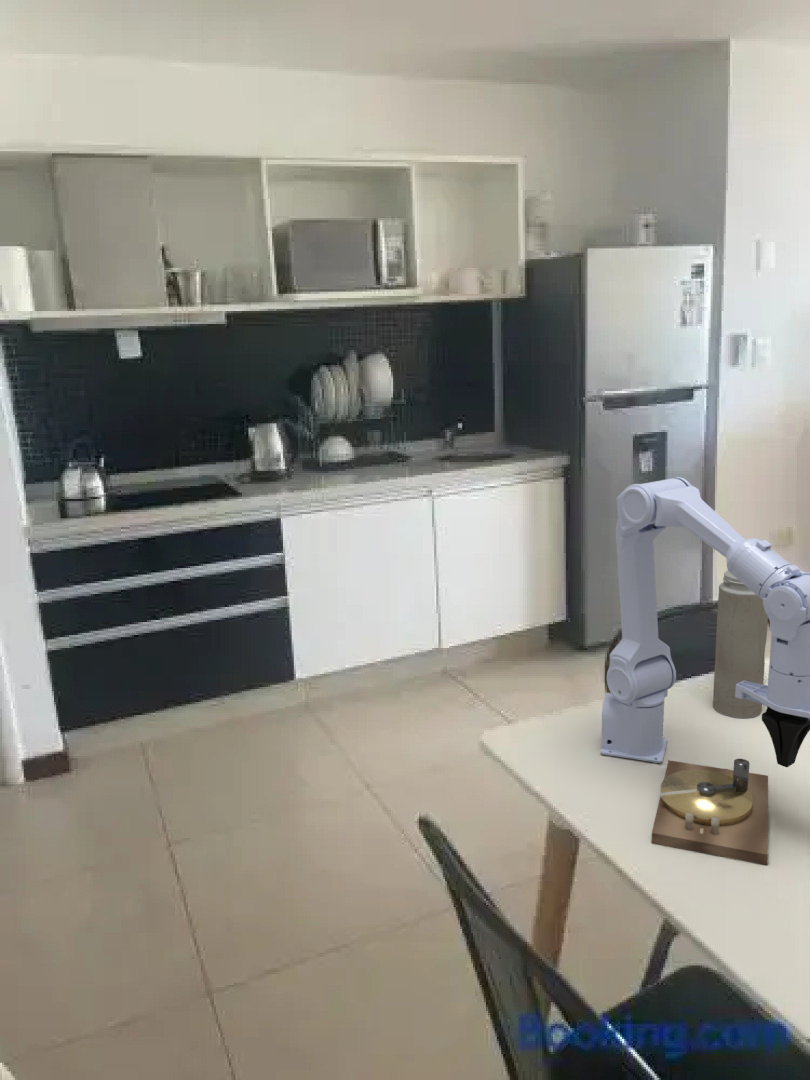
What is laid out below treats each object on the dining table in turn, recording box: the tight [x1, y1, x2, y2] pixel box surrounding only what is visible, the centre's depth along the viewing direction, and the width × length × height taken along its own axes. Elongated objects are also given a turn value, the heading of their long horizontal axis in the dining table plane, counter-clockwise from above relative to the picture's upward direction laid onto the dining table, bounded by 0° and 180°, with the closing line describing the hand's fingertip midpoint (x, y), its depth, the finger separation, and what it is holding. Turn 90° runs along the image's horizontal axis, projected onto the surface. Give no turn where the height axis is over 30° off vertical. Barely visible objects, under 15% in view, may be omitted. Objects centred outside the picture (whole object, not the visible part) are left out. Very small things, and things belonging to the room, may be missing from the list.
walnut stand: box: [651, 760, 769, 866], centre depth 116 cm, size 14×20×4 cm
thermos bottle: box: [712, 569, 769, 719], centre depth 143 cm, size 8×8×28 cm
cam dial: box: [659, 758, 753, 826], centre depth 116 cm, size 12×12×5 cm
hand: (785, 763), depth 111 cm, fingers closed
